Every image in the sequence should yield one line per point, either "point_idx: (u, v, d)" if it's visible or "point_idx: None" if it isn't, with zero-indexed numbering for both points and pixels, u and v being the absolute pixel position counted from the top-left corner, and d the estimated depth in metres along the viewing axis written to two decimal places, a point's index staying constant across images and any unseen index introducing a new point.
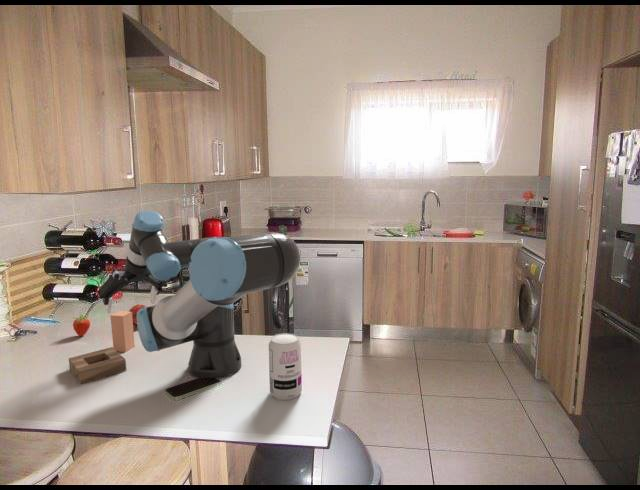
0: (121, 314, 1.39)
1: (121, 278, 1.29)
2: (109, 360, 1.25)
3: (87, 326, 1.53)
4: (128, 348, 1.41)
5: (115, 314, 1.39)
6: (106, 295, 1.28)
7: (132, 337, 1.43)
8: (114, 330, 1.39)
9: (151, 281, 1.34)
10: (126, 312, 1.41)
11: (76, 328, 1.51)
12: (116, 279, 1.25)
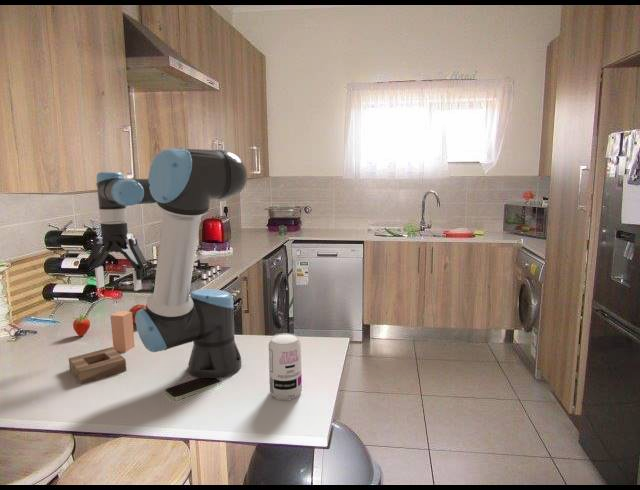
0: (121, 314, 1.39)
1: None
2: (109, 360, 1.25)
3: (87, 326, 1.53)
4: (128, 348, 1.41)
5: (115, 314, 1.39)
6: None
7: (132, 337, 1.43)
8: (114, 330, 1.39)
9: (126, 255, 1.35)
10: (126, 312, 1.41)
11: (76, 328, 1.51)
12: (95, 242, 1.37)
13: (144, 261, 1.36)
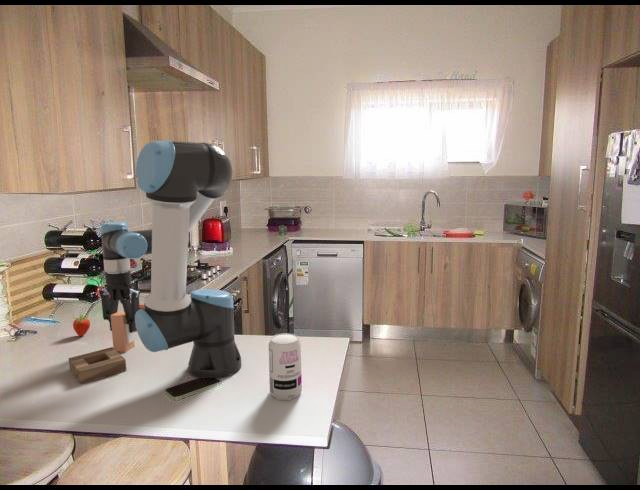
0: (121, 314, 1.39)
1: None
2: (109, 360, 1.25)
3: (87, 326, 1.53)
4: (128, 348, 1.41)
5: (115, 314, 1.39)
6: None
7: None
8: (114, 330, 1.39)
9: (124, 306, 1.38)
10: None
11: (76, 328, 1.51)
12: (102, 295, 1.39)
13: None
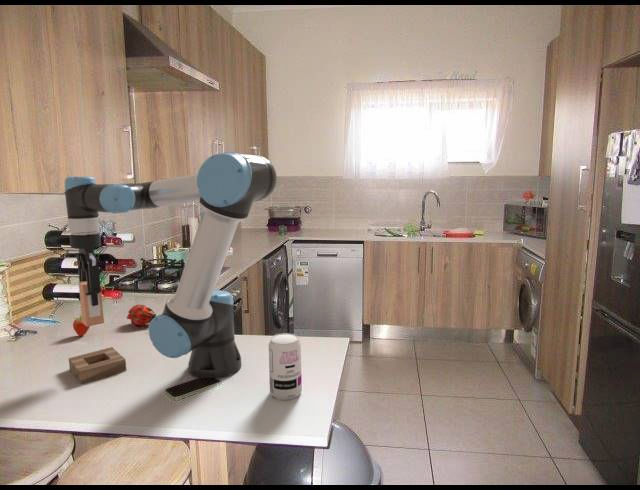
0: (85, 283, 1.21)
1: None
2: (109, 360, 1.25)
3: None
4: (91, 323, 1.22)
5: (83, 282, 1.23)
6: None
7: (100, 311, 1.23)
8: (81, 300, 1.23)
9: (86, 273, 1.20)
10: None
11: (76, 328, 1.51)
12: (77, 258, 1.25)
13: (97, 287, 1.19)
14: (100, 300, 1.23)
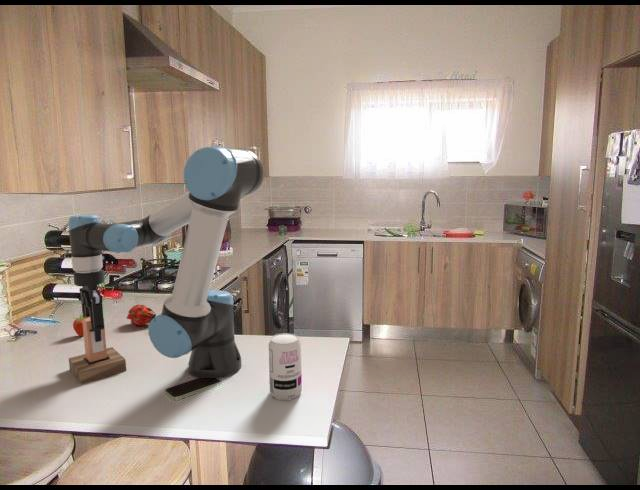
0: (89, 319, 1.23)
1: None
2: (109, 360, 1.25)
3: None
4: (94, 358, 1.24)
5: (86, 317, 1.24)
6: None
7: None
8: (84, 335, 1.25)
9: (89, 310, 1.21)
10: None
11: (76, 328, 1.51)
12: (80, 293, 1.27)
13: (100, 324, 1.20)
14: (103, 335, 1.25)
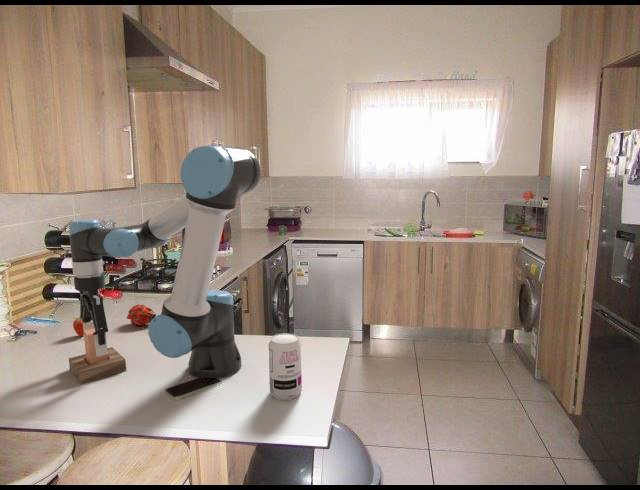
0: (90, 332, 1.23)
1: None
2: (109, 360, 1.25)
3: None
4: None
5: (88, 330, 1.25)
6: None
7: (104, 359, 1.26)
8: (86, 348, 1.25)
9: (91, 314, 1.20)
10: None
11: (76, 328, 1.51)
12: (80, 294, 1.27)
13: (104, 326, 1.18)
14: None
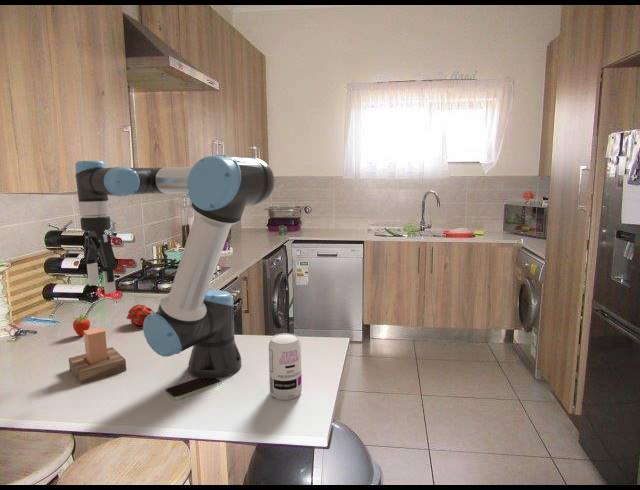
0: (90, 332, 1.23)
1: None
2: (109, 360, 1.25)
3: (87, 326, 1.53)
4: None
5: (88, 330, 1.25)
6: None
7: (105, 359, 1.26)
8: (86, 348, 1.25)
9: (99, 253, 1.21)
10: (100, 330, 1.25)
11: (76, 328, 1.51)
12: (85, 237, 1.28)
13: (112, 262, 1.19)
14: (105, 348, 1.25)
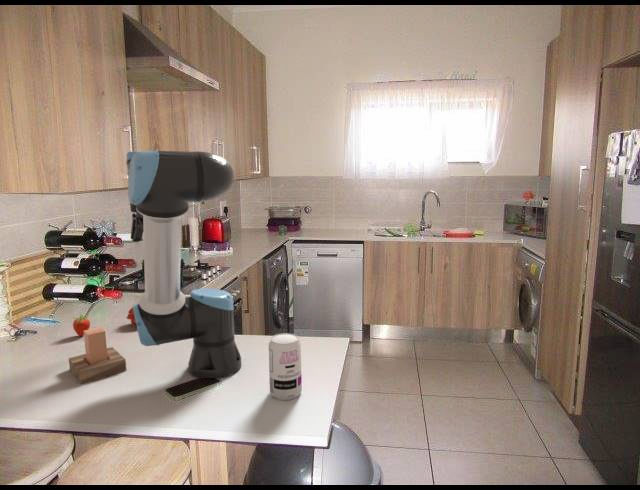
0: (90, 332, 1.23)
1: None
2: (109, 360, 1.25)
3: (87, 326, 1.53)
4: None
5: (88, 330, 1.25)
6: None
7: (105, 359, 1.26)
8: (86, 348, 1.25)
9: None
10: (100, 330, 1.25)
11: (76, 328, 1.51)
12: (133, 218, 1.47)
13: None
14: (105, 348, 1.25)
